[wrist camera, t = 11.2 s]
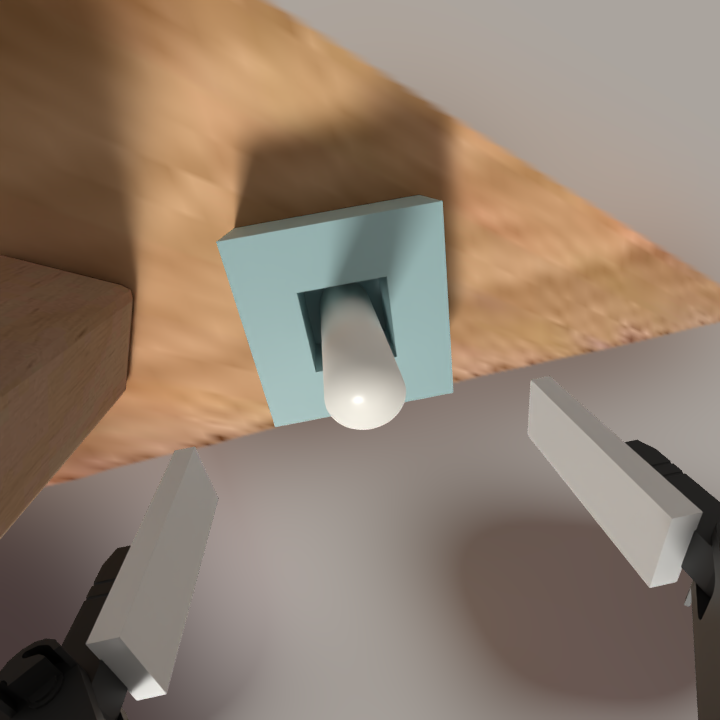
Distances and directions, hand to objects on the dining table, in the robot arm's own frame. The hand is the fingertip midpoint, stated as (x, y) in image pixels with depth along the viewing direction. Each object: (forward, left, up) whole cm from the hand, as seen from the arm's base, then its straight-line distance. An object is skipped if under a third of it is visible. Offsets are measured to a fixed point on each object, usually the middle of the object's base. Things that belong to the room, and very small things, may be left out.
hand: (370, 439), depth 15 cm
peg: (0, 0, -18) cm, 18 cm away
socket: (0, 0, -19) cm, 19 cm away
